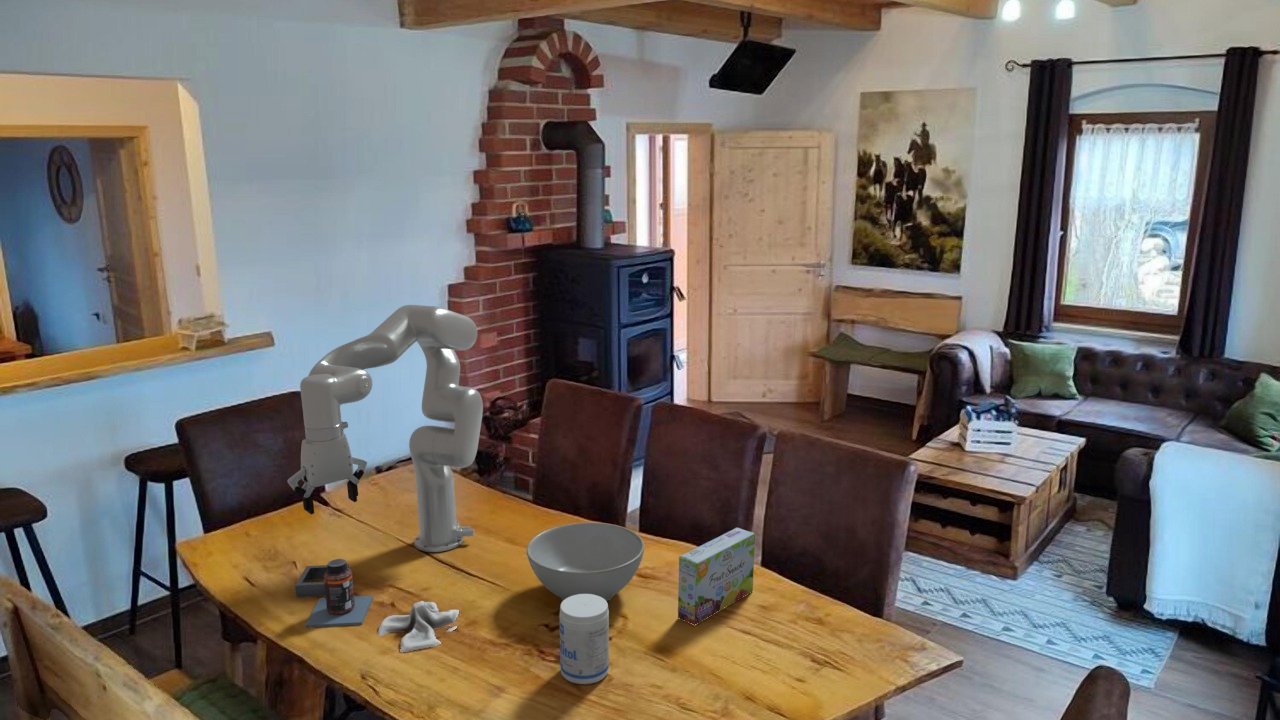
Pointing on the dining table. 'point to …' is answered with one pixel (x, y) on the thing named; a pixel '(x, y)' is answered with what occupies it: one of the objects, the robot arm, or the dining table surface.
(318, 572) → the collar
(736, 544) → the snack box
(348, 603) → the supplement bottle
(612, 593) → the decorative bowl
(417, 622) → the cloth
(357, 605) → the board
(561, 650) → the supplement tub
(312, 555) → the dining table surface
